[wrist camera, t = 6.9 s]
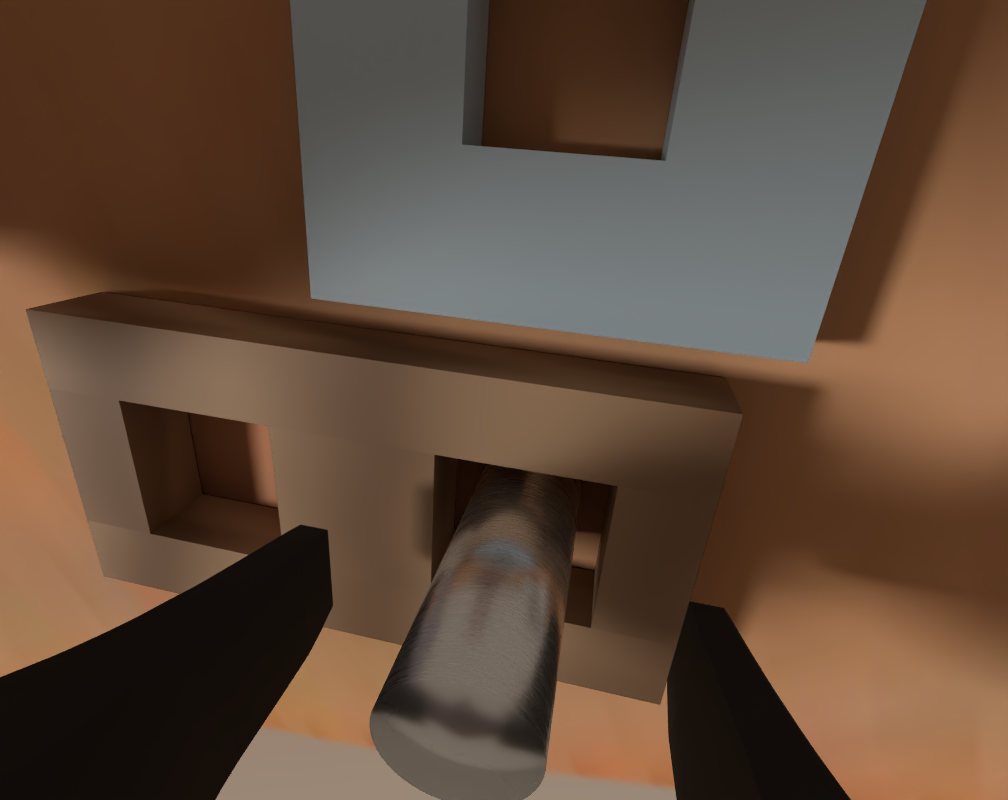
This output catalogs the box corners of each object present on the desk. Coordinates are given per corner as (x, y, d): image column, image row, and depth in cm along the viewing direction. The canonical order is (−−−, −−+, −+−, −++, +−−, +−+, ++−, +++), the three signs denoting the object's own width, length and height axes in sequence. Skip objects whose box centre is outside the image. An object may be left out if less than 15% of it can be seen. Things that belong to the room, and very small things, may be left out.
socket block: (344, 285, 13) (310, 298, 11) (316, -325, 9) (259, -418, 7) (785, 340, 11) (807, 363, 10) (1000, -368, 7) (1089, -495, 6)
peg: (479, 519, 15) (372, 781, 8) (484, 435, 14) (367, 662, 7) (574, 536, 14) (536, 826, 8) (587, 451, 13) (555, 706, 7)
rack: (157, 534, 17) (103, 576, 16) (101, 292, 14) (25, 309, 12) (655, 641, 15) (660, 705, 13) (724, 377, 12) (743, 414, 10)
